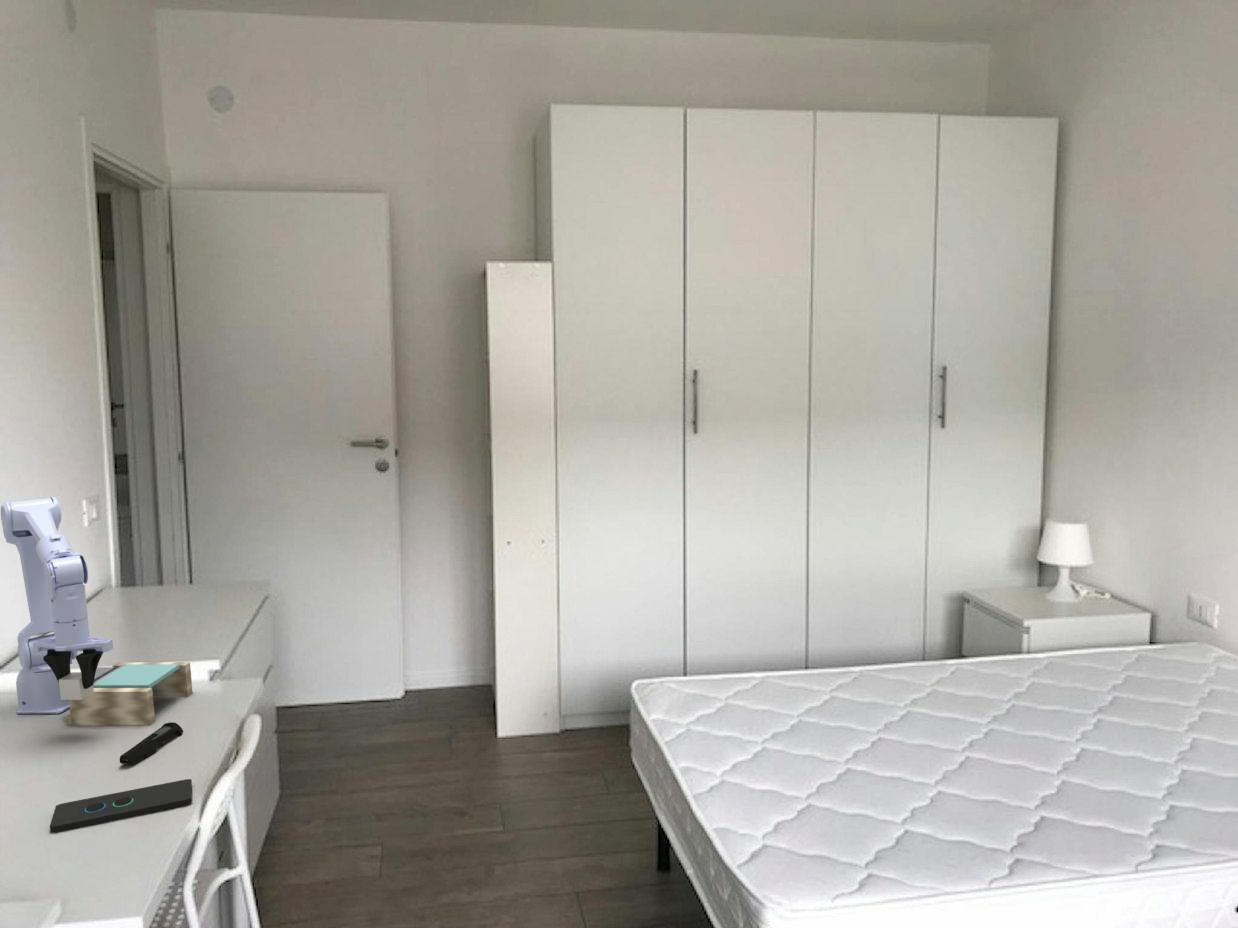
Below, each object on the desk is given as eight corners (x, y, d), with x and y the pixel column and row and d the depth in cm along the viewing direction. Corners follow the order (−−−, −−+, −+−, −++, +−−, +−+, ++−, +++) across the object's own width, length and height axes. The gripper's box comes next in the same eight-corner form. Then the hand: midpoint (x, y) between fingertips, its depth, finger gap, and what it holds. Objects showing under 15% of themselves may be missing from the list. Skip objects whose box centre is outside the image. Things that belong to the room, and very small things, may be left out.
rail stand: (66, 725, 182) (63, 691, 182) (116, 693, 199) (113, 662, 198) (149, 725, 182) (146, 691, 181) (192, 692, 199) (190, 662, 198)
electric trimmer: (113, 770, 163) (112, 754, 163) (167, 733, 178) (166, 717, 178) (133, 771, 163) (131, 754, 162) (185, 734, 178) (183, 718, 178)
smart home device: (56, 803, 148) (191, 776, 157) (57, 813, 148) (192, 786, 157) (48, 826, 141) (191, 797, 149) (49, 837, 141) (192, 807, 149)
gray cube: (60, 699, 174) (58, 679, 174) (74, 691, 178) (72, 672, 178) (81, 699, 174) (79, 679, 174) (93, 691, 178) (92, 672, 178)
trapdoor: (63, 701, 184) (61, 684, 184) (98, 679, 196) (97, 664, 196) (149, 701, 184) (148, 684, 183) (180, 679, 196) (179, 663, 195)
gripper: (19, 625, 171) (26, 694, 172) (94, 624, 170) (101, 694, 172) (44, 614, 178) (51, 681, 179) (116, 613, 177) (122, 680, 179)
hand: (77, 686), depth 176 cm, fingers closed on gray cube, 4 cm apart
